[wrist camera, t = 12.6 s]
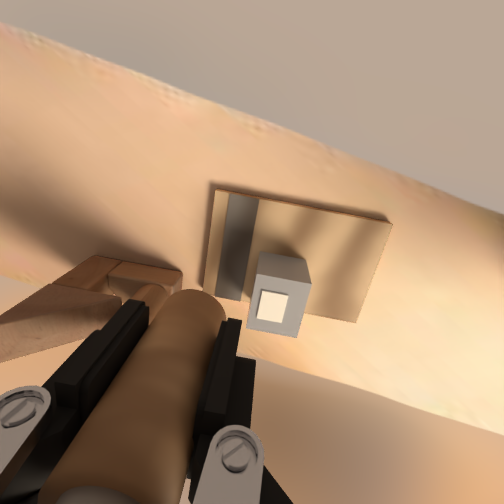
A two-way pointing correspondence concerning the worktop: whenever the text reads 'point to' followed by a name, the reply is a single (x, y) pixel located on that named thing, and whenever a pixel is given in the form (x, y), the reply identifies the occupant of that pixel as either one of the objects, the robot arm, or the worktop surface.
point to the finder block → (279, 294)
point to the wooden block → (82, 304)
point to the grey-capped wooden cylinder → (144, 414)
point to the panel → (294, 250)
